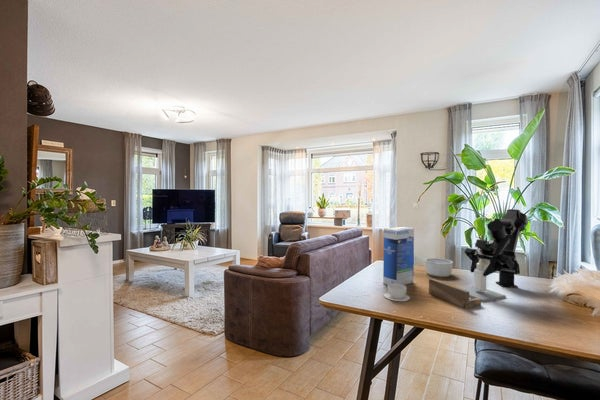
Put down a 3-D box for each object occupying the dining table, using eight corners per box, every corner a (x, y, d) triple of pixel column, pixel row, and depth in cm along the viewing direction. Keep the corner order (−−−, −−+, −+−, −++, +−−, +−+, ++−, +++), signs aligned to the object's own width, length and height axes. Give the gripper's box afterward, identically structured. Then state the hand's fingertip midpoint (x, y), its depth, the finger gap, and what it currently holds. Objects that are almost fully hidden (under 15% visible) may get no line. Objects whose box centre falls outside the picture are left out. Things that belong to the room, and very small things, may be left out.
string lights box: (401, 278, 145) (401, 226, 144) (414, 282, 139) (415, 228, 138) (382, 283, 138) (382, 228, 137) (395, 287, 131) (396, 230, 131)
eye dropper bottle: (473, 290, 121) (474, 261, 121) (473, 286, 126) (473, 258, 126) (486, 292, 119) (486, 262, 119) (485, 288, 124) (485, 259, 124)
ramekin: (436, 278, 146) (437, 264, 146) (419, 271, 158) (419, 258, 158) (458, 276, 149) (459, 262, 149) (440, 270, 162) (440, 257, 162)
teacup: (412, 303, 114) (412, 291, 114) (385, 301, 116) (385, 289, 115) (407, 294, 124) (407, 283, 123) (383, 292, 125) (383, 281, 125)
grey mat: (476, 288, 131) (476, 285, 131) (505, 297, 119) (506, 295, 119) (454, 291, 126) (454, 289, 126) (482, 302, 114) (482, 299, 114)
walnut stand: (442, 290, 127) (442, 276, 127) (480, 305, 110) (481, 289, 110) (428, 292, 125) (428, 278, 125) (466, 308, 108) (466, 292, 108)
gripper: (467, 229, 132) (448, 256, 129) (509, 235, 115) (489, 266, 111) (480, 246, 135) (461, 272, 132) (523, 254, 118) (503, 285, 114)
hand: (477, 273), depth 122 cm, fingers closed on eye dropper bottle, 5 cm apart
